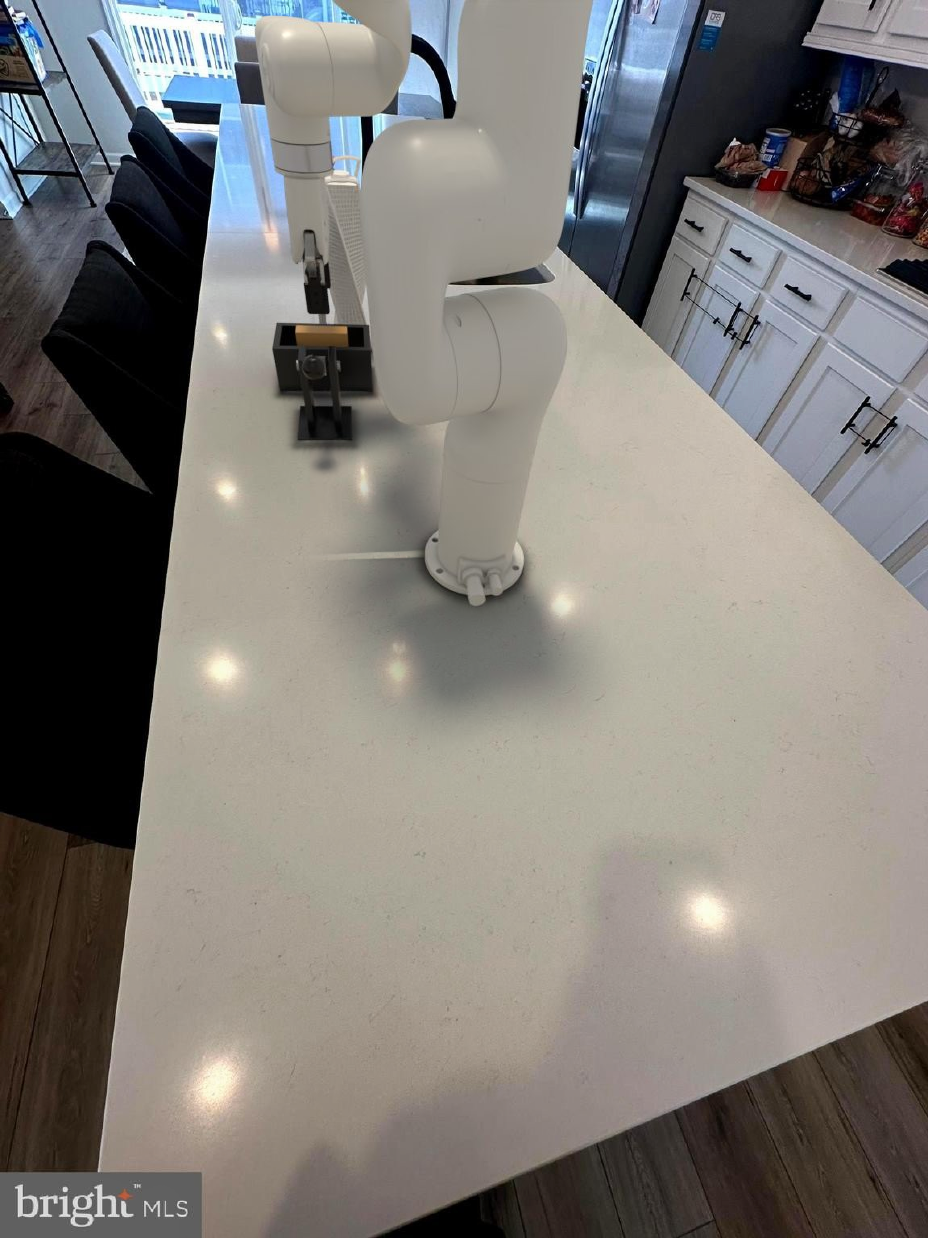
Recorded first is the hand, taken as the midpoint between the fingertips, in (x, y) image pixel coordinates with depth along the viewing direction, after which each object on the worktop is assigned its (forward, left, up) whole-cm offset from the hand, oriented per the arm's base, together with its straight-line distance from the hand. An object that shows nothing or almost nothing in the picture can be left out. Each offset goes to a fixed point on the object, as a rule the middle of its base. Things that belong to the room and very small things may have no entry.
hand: (319, 299), depth 85 cm
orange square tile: (+1, 0, -13) cm, 13 cm away
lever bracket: (-13, 0, -13) cm, 19 cm away
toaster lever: (-18, 0, -3) cm, 18 cm away
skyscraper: (+13, -4, -14) cm, 19 cm away
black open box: (+1, 0, -13) cm, 13 cm away
